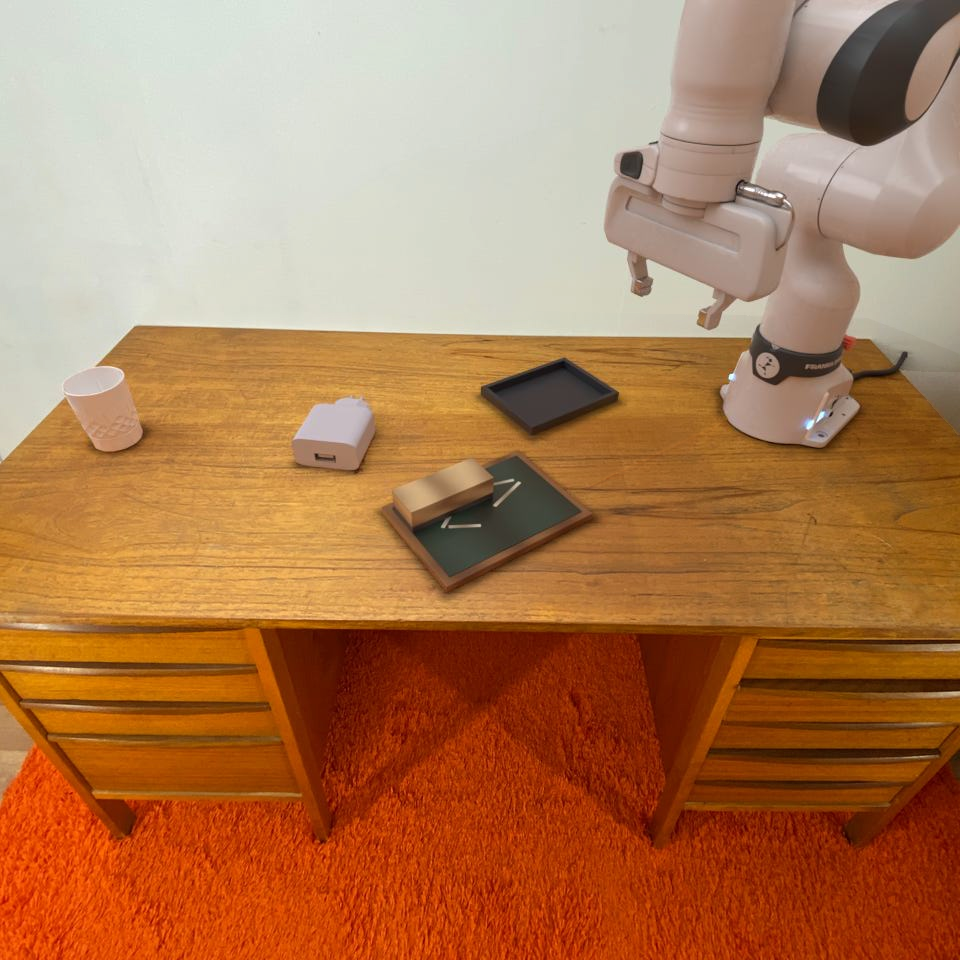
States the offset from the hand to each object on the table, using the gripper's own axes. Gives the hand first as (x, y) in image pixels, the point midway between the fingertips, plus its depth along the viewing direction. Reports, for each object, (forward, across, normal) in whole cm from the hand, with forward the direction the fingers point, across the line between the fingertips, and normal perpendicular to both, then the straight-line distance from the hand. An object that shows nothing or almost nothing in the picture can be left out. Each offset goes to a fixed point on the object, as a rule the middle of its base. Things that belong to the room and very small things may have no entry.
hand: (672, 309), depth 68 cm
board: (+27, +8, +18) cm, 33 cm away
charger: (+27, +34, +26) cm, 51 cm away
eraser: (+26, +12, +22) cm, 36 cm away
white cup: (+27, +52, +54) cm, 80 cm away
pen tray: (+27, +25, -6) cm, 37 cm away
